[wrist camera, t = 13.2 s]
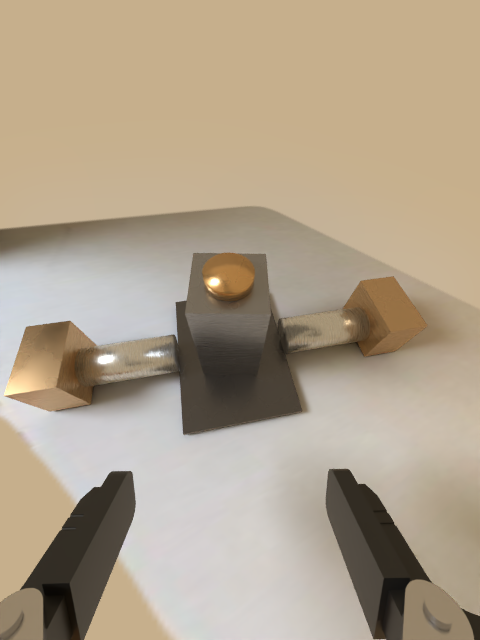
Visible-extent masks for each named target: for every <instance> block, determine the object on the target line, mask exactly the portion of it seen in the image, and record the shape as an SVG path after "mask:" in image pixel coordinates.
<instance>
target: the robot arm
mask: <svg viewBox="0 0 480 640" xmlns="http://www.w3.org/2000/svg"><path fill="white" fill-rule="evenodd" d="M135 505H136V501H135V492H134V483H133V474H132V472H131V471H112V472H110V473H109V475H108V476H107V478H106V480H105V481H104V483H103V484H102V486H101V487H94V488H93V489H92V490H91V491H89V492H88V493H87V494H86V495H85V496H84V497H83V498H82V499H81V500H80V501H79V503H78V504H77V506H76V507H75V509H74V510H73V512H72V513H71V516H70V518H68V519H67V521H66V522H65V524H64V525H63V527H62V530H61V531H59V533H58V534H57V536H56V537H55V539H54V541H53V542H52V543H51V545H50V546H49V548H48V550H47V551H46V552H45V554H44V555H43V557H42V558H41V560H40V561H39V563H38V564H37V566H36V567H35V569H34V570H33V572H32V574H31V575H30V576H29V578H28V579H27V581H26V582H25V584H24V585H23V586H22V588H21V589H20V591H17V592H15V593H13V594H11V595H10V596H8V597H7V598H5V599H4V600H3V601H1V602H0V640H84V638H85V635H86V633H87V631H88V628H89V626H90V623H91V621H92V618H93V616H94V614H95V611H96V608H97V606H98V603H99V601H100V599H101V596H102V594H103V591H104V589H105V586H106V584H107V582H108V579H109V577H110V574H111V572H112V569H113V567H114V564H115V562H116V559H117V557H118V555H119V552H120V550H121V547H122V545H123V542H124V540H125V537H126V535H127V532H128V530H129V527H130V525H131V523H132V520H133V517H134V512H135ZM326 508H327V513H328V517H329V520H330V523H331V526H332V528H333V531H334V534H335V536H336V539H337V542H338V544H339V547H340V550H341V553H342V555H343V558H344V561H345V563H346V566H347V569H348V571H349V574H350V577H351V580H352V582H353V585H354V588H355V590H356V593H357V596H358V598H359V601H360V604H361V607H362V609H363V612H364V615H365V617H366V620H367V623H368V625H369V628H370V631H371V634H372V636H373V639H386V640H480V616H478V615H475V614H472V613H470V612H467V611H465V610H464V609H462V608H460V607H459V605H458V604H457V603H456V602H455V601H454V600H453V598H451V597H450V596H449V595H448V594H447V593H446V592H445V591H444V590H442V589H441V588H439V587H438V586H436V585H434V584H433V583H432V582H431V581H430V579H429V578H428V576H427V575H426V573H425V572H424V570H423V568H422V567H421V565H420V564H419V562H418V560H417V559H416V557H415V556H414V554H413V552H412V551H411V549H410V547H409V546H408V544H407V543H406V541H405V539H404V538H403V536H402V535H401V533H400V531H399V530H398V528H397V526H395V525H394V522H393V520H392V518H391V517H390V515H389V514H388V513H387V510H386V509H385V507H384V505H383V504H382V502H381V501H380V499H379V497H378V496H377V495H376V494H375V493H374V492H373V491H372V490H371V489H370V488H369V487H368V486H367V485H365V484H358V483H357V482H356V480H355V478H354V476H353V475H352V473H351V471H350V470H349V469H329V471H328V480H327V491H326Z"/></svg>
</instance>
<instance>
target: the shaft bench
mask: <svg viewBox="0 0 480 640" xmlns="http://www.w3.org/2000/svg"><path fill="white" fill-rule="evenodd" d="M186 303H187V301H182V302H176V315H177V333H178V343H177V340H176V337H175V335H168V336H161V337H154V338H148V339H141V340H134V341H128V342H121V343H114V344H108V345H101V346H97V345H96V344H95V343H94V342H92V341H91V340H90V339H89V338H88V337H87V336H86V335H85V334H84V333H83V332H82V331H81V330H80V329H79V328H77V327H76V326H75V325H74V324H73V323H72V322H71V321H65V322H58V323H50V324H43V325H36V326H29V327H26V329H25V332H24V335H23V338H22V341H21V344H20V347H19V351H18V354H17V357H16V360H15V363H14V366H13V369H12V372H11V375H10V378H9V381H8V384H7V388H6V391H5V394H4V396H6V397H9V398H12V399H15V400H18V401H20V402H23V403H26V404H29V405H32V406H35V407H38V408H41V409H44V410H47V411H55V410H61V409H67V408H73V407H78V406H84V405H90V404H91V399H92V392H93V386H94V385H100V384H106V383H112V382H118V381H124V380H130V379H136V378H142V377H148V376H154V375H160V374H166V373H172V372H178V371H179V370H180V385H181V403H182V421H183V434H184V435H187V434H192V433H197V432H202V431H207V430H212V429H217V428H222V427H227V426H233V425H238V424H243V423H248V422H253V421H258V420H263V419H268V418H273V417H278V416H284V415H289V414H294V413H299V412H302V409H301V406H300V402H299V399H298V396H297V393H296V389H295V386H294V383H293V380H292V376H291V373H290V370H289V366H288V363H287V360H286V357H285V353H292V352H298V351H304V350H310V349H316V348H322V347H328V346H334V345H340V344H346V343H352V342H357V343H358V345H359V347H360V349H361V351H362V353H363V355H364V356H370V355H376V354H382V353H387V352H393V351H396V350H397V349H399V348H400V347H401V346H402V345H404V344H405V343H406V342H408V341H409V340H410V339H411V338H413V337H414V336H415V335H417V334H418V333H419V332H421V331H422V330H423V329H424V328H426V327H427V324H426V323H425V321H424V320H423V318H422V317H421V315H420V314H419V313H418V311H417V310H416V308H415V307H414V305H413V304H412V302H411V301H410V300H409V298H408V297H407V295H406V294H405V292H404V291H403V289H402V288H401V287H400V285H399V284H398V282H397V281H396V279H395V278H394V276H393V277H386V278H378V279H371V280H364V281H360V283H359V285H358V286H357V288H356V289H355V291H354V292H353V294H352V295H351V297H350V298H349V300H348V302H347V303H346V305H345V306H344V308H343V309H341V310H334V311H328V312H321V313H314V314H308V315H301V316H294V317H288V318H281V319H279V321H278V331H277V327H276V324H275V321H274V318H273V314H272V311H271V316H270V320H269V325H268V329H267V334H266V338H265V343H264V347H263V352H262V356H261V361H260V365H259V370H258V374H257V375H204V373H203V370H202V367H201V363H200V360H199V357H198V354H197V351H196V347H195V344H194V341H193V338H192V335H191V331H190V328H189V325H188V322H187V318H186V315H185V310H186ZM270 309H271V308H270Z"/></svg>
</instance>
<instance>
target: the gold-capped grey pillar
mask: <svg viewBox="0 0 480 640" xmlns="http://www.w3.org/2000/svg"><path fill="white" fill-rule="evenodd" d="M185 315H186V318H187V322H188V325H189V328H190V331H191V335H192V338H193V341H194V344H195V347H196V351H197V354H198V357H199V360H200V363H201V367H202V370H203V373H204V375H257V374H258V370H259V365H260V361H261V356H262V352H263V347H264V343H265V338H266V334H267V329H268V325H269V320H270V316H271V309H270V297H269V285H268V273H267V261H266V254H236V253H222V254H217V253H194V254H193V261H192V268H191V275H190V282H189V289H188V296H187V303H186V310H185Z"/></svg>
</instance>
